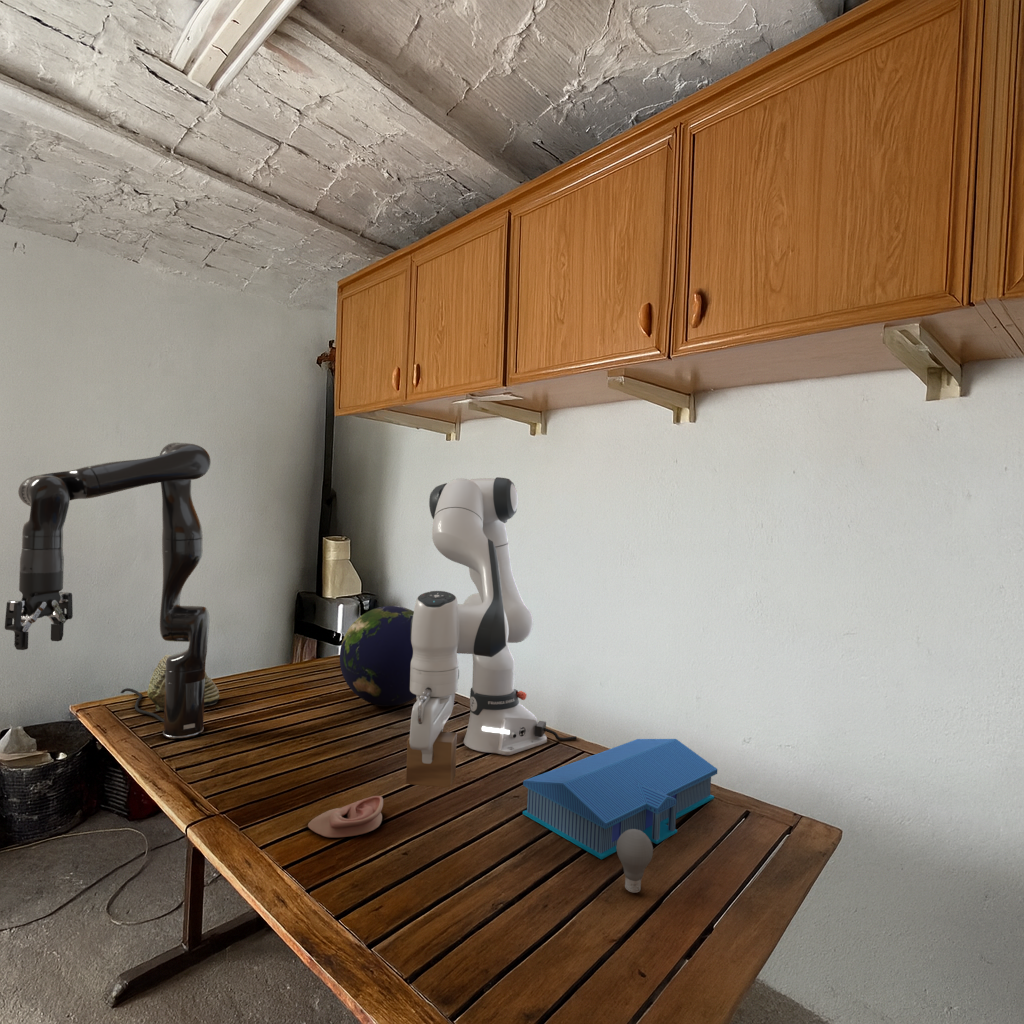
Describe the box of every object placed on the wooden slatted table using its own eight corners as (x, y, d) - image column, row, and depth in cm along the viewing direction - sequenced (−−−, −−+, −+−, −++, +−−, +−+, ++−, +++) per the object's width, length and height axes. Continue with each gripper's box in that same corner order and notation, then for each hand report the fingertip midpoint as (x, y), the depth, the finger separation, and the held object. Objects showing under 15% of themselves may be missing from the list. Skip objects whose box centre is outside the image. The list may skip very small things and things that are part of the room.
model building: (615, 867, 112) (618, 811, 112) (520, 812, 130) (523, 764, 130) (727, 803, 138) (730, 758, 138) (636, 765, 157) (638, 725, 156)
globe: (316, 709, 186) (320, 608, 186) (375, 684, 214) (378, 595, 214) (403, 727, 175) (408, 619, 175) (453, 698, 203) (457, 604, 202)
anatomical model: (300, 812, 119) (329, 785, 130) (299, 833, 119) (328, 804, 130) (365, 822, 116) (390, 794, 127) (365, 843, 116) (389, 814, 127)
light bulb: (610, 879, 108) (613, 822, 108) (644, 879, 109) (647, 822, 109) (619, 902, 102) (622, 840, 102) (655, 901, 103) (658, 840, 103)
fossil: (144, 707, 182) (145, 655, 182) (212, 696, 194) (213, 647, 194) (151, 716, 175) (153, 662, 175) (221, 703, 188) (223, 653, 188)
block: (450, 788, 114) (451, 742, 114) (406, 784, 115) (407, 739, 115) (455, 776, 119) (457, 732, 119) (413, 772, 120) (414, 729, 120)
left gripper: (28, 574, 127) (25, 654, 128) (84, 567, 141) (82, 639, 142) (-5, 571, 128) (-8, 651, 129) (54, 565, 142) (52, 636, 143)
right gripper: (438, 700, 106) (435, 781, 107) (461, 667, 127) (458, 735, 127) (401, 697, 107) (399, 778, 107) (430, 665, 127) (428, 733, 128)
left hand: (39, 645), depth 135 cm, fingers open, 8 cm apart
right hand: (431, 754), depth 117 cm, fingers closed on block, 5 cm apart
